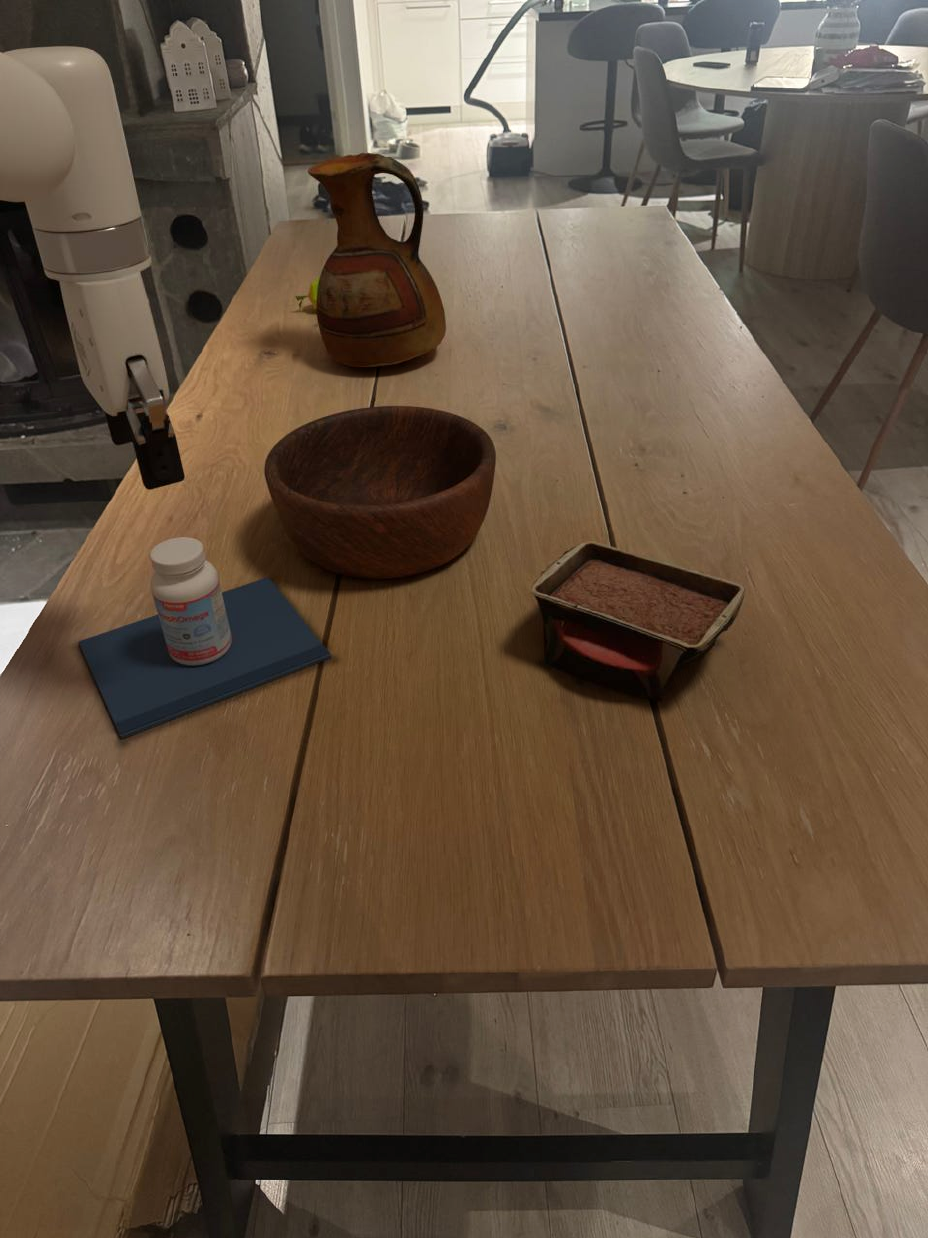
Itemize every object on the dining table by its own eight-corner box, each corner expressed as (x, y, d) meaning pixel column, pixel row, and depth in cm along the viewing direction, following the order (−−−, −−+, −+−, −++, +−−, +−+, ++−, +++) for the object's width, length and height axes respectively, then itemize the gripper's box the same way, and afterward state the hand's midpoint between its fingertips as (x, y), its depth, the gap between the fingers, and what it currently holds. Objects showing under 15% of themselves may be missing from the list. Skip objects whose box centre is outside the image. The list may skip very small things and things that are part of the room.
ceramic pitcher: (324, 339, 157) (298, 144, 139) (442, 331, 158) (431, 136, 140) (321, 384, 142) (292, 171, 124) (452, 375, 143) (442, 162, 125)
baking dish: (602, 602, 97) (590, 519, 92) (765, 643, 86) (762, 552, 81) (522, 682, 89) (503, 597, 83) (690, 739, 78) (681, 645, 72)
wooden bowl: (338, 470, 119) (328, 394, 113) (524, 496, 112) (524, 417, 105) (236, 574, 100) (217, 490, 94) (452, 614, 93) (447, 526, 87)
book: (121, 739, 80) (120, 735, 80) (79, 644, 91) (77, 640, 91) (331, 657, 88) (330, 653, 88) (268, 579, 99) (268, 575, 99)
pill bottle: (161, 668, 87) (130, 569, 81) (181, 628, 92) (154, 532, 85) (224, 668, 87) (198, 569, 80) (240, 629, 92) (218, 532, 85)
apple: (341, 266, 166) (291, 271, 164) (347, 298, 164) (297, 303, 163) (341, 289, 173) (293, 294, 171) (347, 319, 171) (298, 324, 170)
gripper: (18, 231, 72) (78, 436, 82) (67, 284, 60) (130, 516, 70) (115, 217, 75) (162, 416, 85) (181, 264, 63) (226, 490, 73)
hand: (147, 461), depth 77 cm, fingers open, 9 cm apart
